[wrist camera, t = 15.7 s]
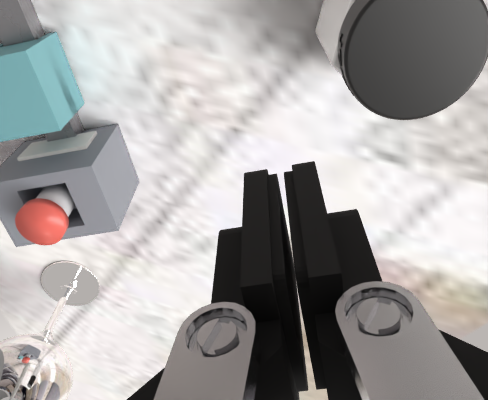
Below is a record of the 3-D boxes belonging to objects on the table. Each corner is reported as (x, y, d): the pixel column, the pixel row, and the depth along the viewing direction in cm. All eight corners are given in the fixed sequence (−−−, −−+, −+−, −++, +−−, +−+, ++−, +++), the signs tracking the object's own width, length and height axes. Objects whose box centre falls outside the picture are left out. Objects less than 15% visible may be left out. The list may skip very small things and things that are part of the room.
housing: (23, 138, 42) (-22, 182, 35) (116, 120, 41) (89, 162, 34) (51, 196, 46) (16, 246, 39) (139, 181, 44) (118, 230, 38)
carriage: (-2, 44, 37) (-41, 64, 32) (56, 31, 37) (25, 50, 32) (30, 113, 40) (-1, 141, 36) (84, 103, 40) (60, 130, 35)
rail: (-88, -148, 31) (-120, -153, 29) (-20, -167, 31) (-46, -174, 28) (44, 137, 42) (30, 153, 39) (96, 127, 42) (85, 143, 39)
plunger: (34, 176, 38) (6, 209, 34) (75, 169, 38) (52, 202, 33) (52, 212, 40) (28, 248, 36) (91, 205, 40) (71, 241, 35)
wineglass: (85, 246, 49) (7, 399, 33) (121, 300, 53) (67, 459, 37) (19, 265, 50) (-84, 420, 35) (59, 316, 54) (-18, 476, 39)
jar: (292, 13, 36) (307, 54, 26) (374, -78, 33) (427, -72, 23) (368, 89, 39) (408, 151, 29) (449, 12, 36) (526, 53, 26)
